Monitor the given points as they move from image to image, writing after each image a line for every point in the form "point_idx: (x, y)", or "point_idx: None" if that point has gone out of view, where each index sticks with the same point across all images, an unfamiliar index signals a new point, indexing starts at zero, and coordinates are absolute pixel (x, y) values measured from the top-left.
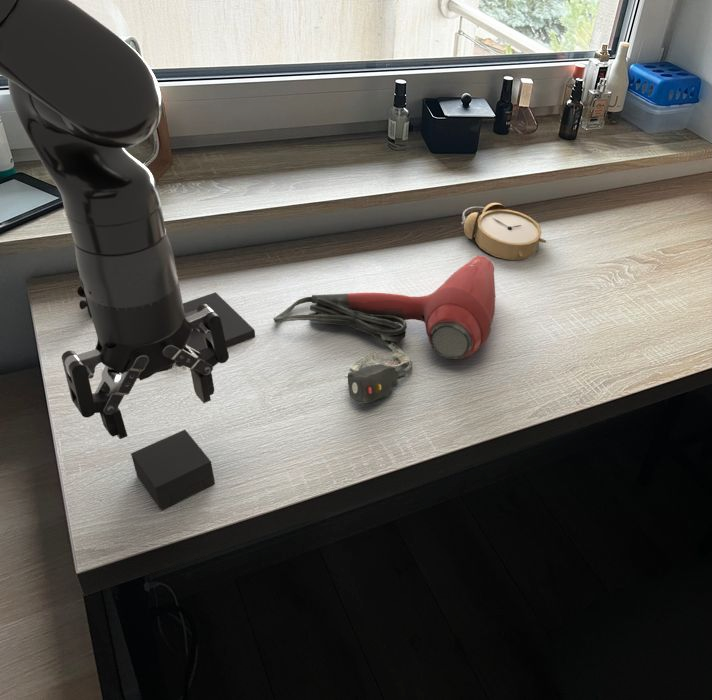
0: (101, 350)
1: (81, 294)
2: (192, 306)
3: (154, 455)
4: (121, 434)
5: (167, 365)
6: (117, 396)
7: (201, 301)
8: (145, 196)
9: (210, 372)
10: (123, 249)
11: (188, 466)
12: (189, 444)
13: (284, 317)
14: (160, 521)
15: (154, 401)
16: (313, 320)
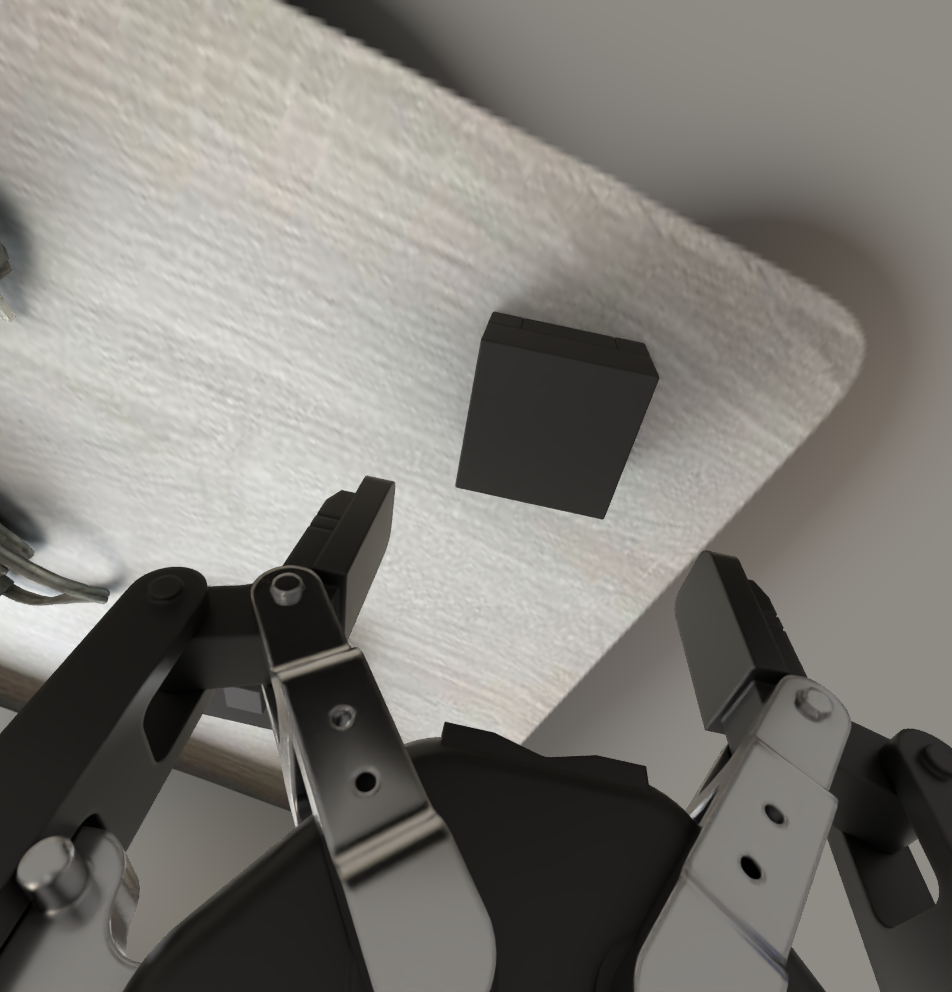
0: None
1: None
2: (240, 711)
3: (572, 473)
4: (736, 568)
5: (470, 763)
6: (788, 753)
7: (220, 710)
8: None
9: (285, 567)
10: None
11: (540, 373)
12: (482, 437)
13: (65, 589)
14: (672, 316)
15: (432, 598)
16: (17, 543)
